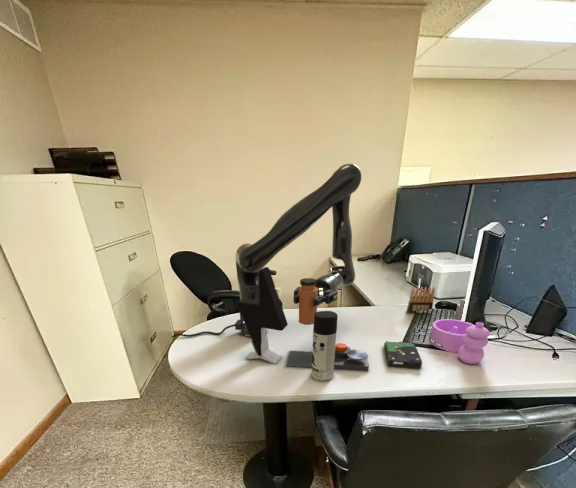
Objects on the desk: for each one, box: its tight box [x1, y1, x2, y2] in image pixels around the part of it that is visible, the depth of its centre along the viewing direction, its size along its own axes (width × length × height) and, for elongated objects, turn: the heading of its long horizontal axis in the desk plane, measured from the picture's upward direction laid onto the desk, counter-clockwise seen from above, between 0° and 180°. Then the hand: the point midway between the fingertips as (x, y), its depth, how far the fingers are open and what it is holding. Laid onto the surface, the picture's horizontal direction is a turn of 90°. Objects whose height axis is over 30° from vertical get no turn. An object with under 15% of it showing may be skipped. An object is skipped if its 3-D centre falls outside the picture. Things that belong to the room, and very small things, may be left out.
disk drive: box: [383, 340, 423, 369], centre depth 110 cm, size 10×3×15 cm
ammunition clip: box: [406, 286, 436, 314], centre depth 145 cm, size 11×2×12 cm, turn 89°
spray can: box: [311, 310, 338, 382], centre depth 96 cm, size 7×7×20 cm
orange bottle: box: [298, 277, 318, 326], centre depth 99 cm, size 6×6×13 cm
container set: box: [428, 318, 490, 365], centre depth 113 cm, size 25×15×13 cm, turn 179°
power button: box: [336, 342, 348, 352], centre depth 108 cm, size 4×4×2 cm
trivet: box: [286, 350, 313, 369], centre depth 109 cm, size 11×11×1 cm
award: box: [236, 266, 288, 365], centre depth 103 cm, size 15×5×30 cm, turn 71°
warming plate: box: [346, 349, 369, 360], centre depth 105 cm, size 7×7×1 cm
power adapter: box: [453, 293, 467, 321], centre depth 135 cm, size 3×5×12 cm, turn 81°
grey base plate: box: [334, 345, 370, 372], centre depth 107 cm, size 14×11×4 cm
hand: (304, 302), depth 97 cm, fingers closed on orange bottle, 5 cm apart
